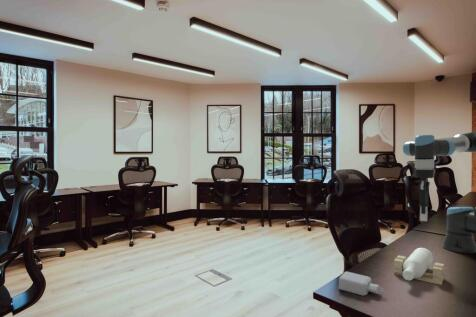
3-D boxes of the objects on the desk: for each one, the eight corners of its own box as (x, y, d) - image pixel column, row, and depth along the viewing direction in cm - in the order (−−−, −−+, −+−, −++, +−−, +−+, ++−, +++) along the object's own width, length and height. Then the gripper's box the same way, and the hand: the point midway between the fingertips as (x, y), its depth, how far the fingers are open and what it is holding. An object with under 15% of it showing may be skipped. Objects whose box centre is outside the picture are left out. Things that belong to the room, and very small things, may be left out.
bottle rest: (398, 268, 134) (398, 255, 134) (443, 278, 123) (443, 264, 123) (394, 273, 128) (394, 260, 128) (441, 285, 117) (441, 269, 117)
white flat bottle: (381, 302, 104) (338, 290, 113) (387, 292, 111) (346, 282, 120) (381, 288, 104) (338, 277, 113) (387, 280, 111) (346, 270, 120)
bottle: (437, 262, 133) (423, 283, 111) (419, 267, 138) (403, 288, 115) (426, 245, 136) (412, 262, 113) (409, 250, 140) (392, 268, 118)
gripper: (417, 168, 143) (416, 217, 143) (412, 169, 133) (411, 221, 133) (435, 168, 138) (435, 219, 138) (432, 169, 128) (431, 224, 128)
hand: (423, 220), depth 136 cm, fingers closed
